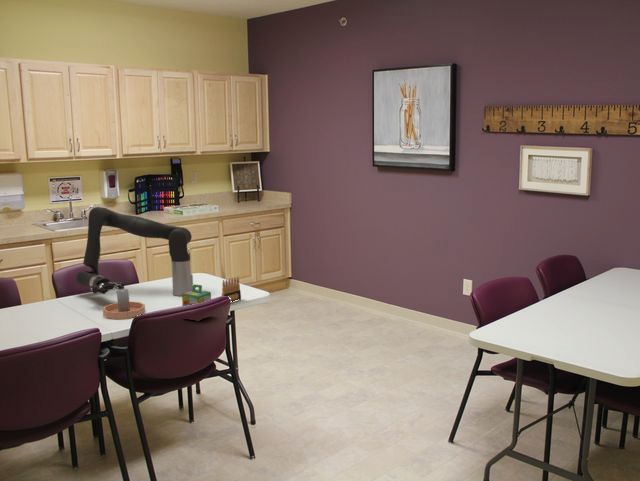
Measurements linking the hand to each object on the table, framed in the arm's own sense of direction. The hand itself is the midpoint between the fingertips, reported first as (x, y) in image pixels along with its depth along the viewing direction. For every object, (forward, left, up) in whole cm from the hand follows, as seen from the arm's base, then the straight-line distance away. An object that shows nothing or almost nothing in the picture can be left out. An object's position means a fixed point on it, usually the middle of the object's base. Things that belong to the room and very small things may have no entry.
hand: (113, 290), depth 287 cm
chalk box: (-21, +40, -9) cm, 46 cm away
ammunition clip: (-46, +28, -9) cm, 54 cm away
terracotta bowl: (0, +11, -9) cm, 14 cm away
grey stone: (0, +11, -8) cm, 13 cm away
